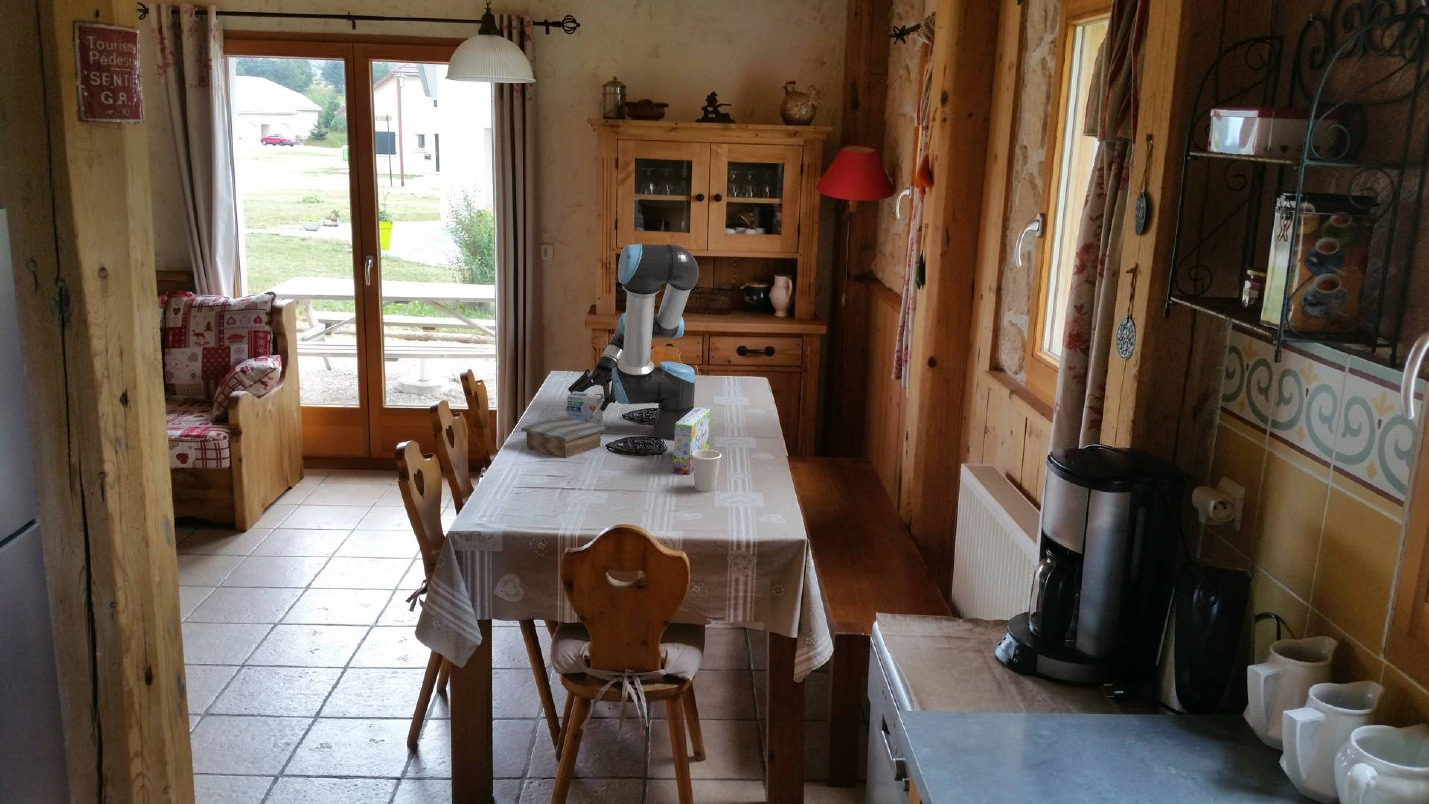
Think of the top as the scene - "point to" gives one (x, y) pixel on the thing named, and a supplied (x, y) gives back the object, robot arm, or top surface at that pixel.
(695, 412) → the snack box
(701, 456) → the dixie cup
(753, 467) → the top surface
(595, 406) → the light bulb box
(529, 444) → the podium
